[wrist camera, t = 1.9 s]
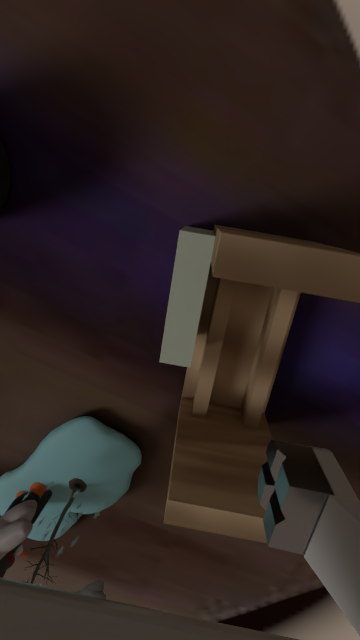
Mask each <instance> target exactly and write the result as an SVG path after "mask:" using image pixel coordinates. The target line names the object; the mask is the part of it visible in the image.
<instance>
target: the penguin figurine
mask: <svg viewBox="0 0 360 640" xmlns="http://www.w3.org/2000/svg"><path fill="white" fill-rule="evenodd" d="M141 458H142V455H141V451H140V449H139V447H138V446H137V445H136V444H135V443H134V442H133V441H132V440H130V439H129V438H128V437H127V436H125V435H123V434H122V433H120V432H118V431H116V430H114V429H112V428H110V427H108V426H106V425H104V424H103V423H102V422H100V421H98V420H97V419H95V418H93V417H90V416H82V417H78V418H75V419H72V420H70V421H67V422H66V423H64V424H62V425H61V426H59V427H57V428H55V429H54V430H52V431H51V432H50V433H49V434H48V435H47V436H46V437H45V438H44V439H43V440H42V441H41V443H40V444H39V446H38V447H37V449H36V450H35V451H34V452H33V454H32V455H31V456H30V457H29V458H28V459H27V461H26V462H25V463H24V464H22V465H20V466H19V467H18V468H16V469H14V470H12V471H8V472H6V473H5V474H3V475H2V476H1V477H0V515H1V517H0V577H1V578H3V576H4V574H5V572H6V571H7V569H8V568H10V567H11V566H12V565H13V563H14V561H15V557H14V556H18V555H22V556H25V557H28V556H27V555H26V554H25V553H24V551H23V547H22V545H21V543H22V542H23V541H24V540H25V539H26V538H30V539H33V540H39V541H49V543H48V545H47V546H45V547H47V548H46V550H45V552H44V554H43V556H42V558H41V560H40V562H39V563H38V564H35V565H37V567H36V569H35V571H34V573H33V577H32V581H31V584H33V581H34V579H35V577H36V574H37V572H38V570H39V569H40V568H39V567H40V565H41V563H42V561H43V560H45V556H47V560H46V561H47V564H46V565H47V568H46V572H47V570H48V574H49V567H48V565H49V551H50V547H51V545H52V542H53V540H54V539H56V538H59V537H60V536H62V535H63V534H64V533H65V532H66V531H67V530H68V529H69V528H70V527H71V526H72V525H73V524H75V523H76V522H77V520H78V519H79V517H80V516H82V515H81V514H92V513H95V514H97V515H95V514H94V515H95V517H93V518H95V519H96V516H99V515H100V514H99V512H100V511H101V510H104V509H105V508H107V507H109V506H111V505H113V504H114V503H115V502H116V501H118V500H119V499H120V498H121V497H122V496H123V495H124V494H125V493H126V492H127V490H128V489H129V487H130V482H131V478H132V475H133V472H134V471H135V470H136V469H137V467H138V466H139V465H140V464H141ZM96 512H98V513H96ZM77 513H79V514H78V517H77ZM77 537H78V536H77ZM77 537H76V540H77V539H79V537H78V538H77ZM54 541H55V540H54ZM55 542H56V541H55ZM73 542H74V543H73ZM75 543H76V542H75V541H72V546H74V544H75ZM76 544H77V543H76ZM41 545H42V544H41ZM52 547H53V545H52ZM70 547H71V545H70ZM37 548H44V546H42V547H37ZM56 548H57V543H56ZM62 548H63V546H62ZM62 548H61V549H62ZM32 549H33V548H32ZM32 549H31V550H32ZM34 549H35V548H34ZM61 549H60V551H61ZM57 550H58V549H57ZM60 551H59V550H58V552H60ZM62 552H63V551H62ZM62 552H60V554H61V553H62ZM57 555H58V557H59V554H57ZM55 557H56V556H55ZM58 557H57V558H58ZM28 558H29V557H28ZM46 561H45V563H46ZM27 562H28V561H27ZM30 564H31V563H30ZM46 565H45V566H46ZM53 565H54V564H53ZM33 566H34V565H33ZM31 567H32V566H31ZM43 567H44V566H43ZM41 568H42V567H41ZM26 569H27V568H26ZM26 569H25V570H26ZM46 572H45V576H46ZM37 575H40V573H39V574H37ZM40 576H42V575H40ZM45 576H44V579H45V578H46V577H45ZM48 576H49V575H48ZM48 576H47V579H48ZM42 577H43V576H42ZM49 577H50V576H49ZM52 577H53V576H52ZM56 577H57V576H56ZM29 578H30V577H29ZM51 579H52V578H51ZM48 580H49V579H48ZM52 581H53V580H52ZM52 581H51V582H52ZM23 582H24V581H23ZM25 583H28V581H27V582H25ZM46 583H47V581H46ZM55 584H56V583H55ZM103 584H104V582H103V580H98V581H95V582H93V583H91V584H90V585H88V586H87V587H85V588H84V589H83V590H82V591H77V592H76V593H77V594H82V595H87V596H92V597H96V598H101V599H106V595H105V594H104V593H103V589H104V586H103ZM41 585H42V584H41V583H40V585H39V586H41Z"/></svg>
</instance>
